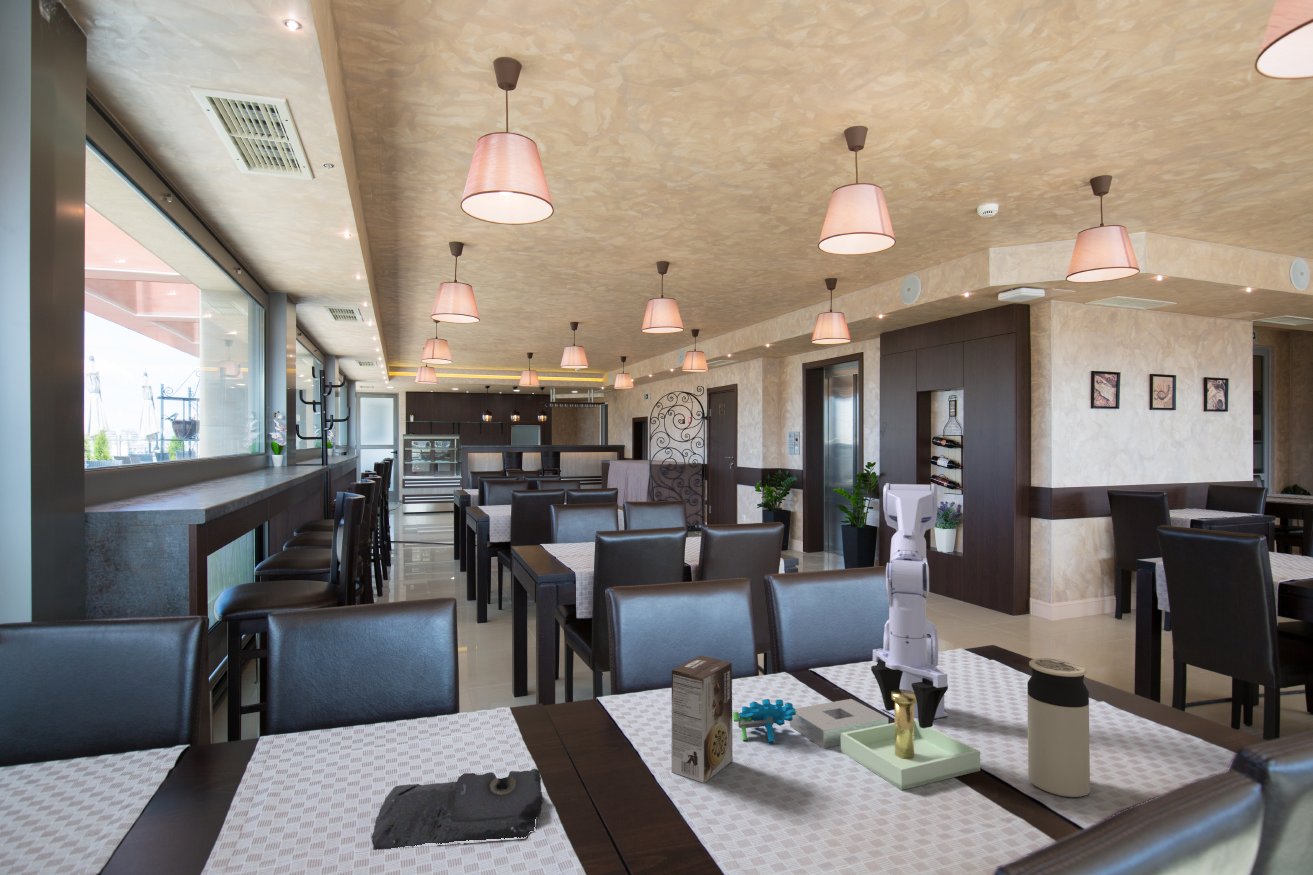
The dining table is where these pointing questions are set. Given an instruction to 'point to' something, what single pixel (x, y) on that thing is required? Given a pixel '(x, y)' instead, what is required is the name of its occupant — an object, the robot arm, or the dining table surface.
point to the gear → (764, 716)
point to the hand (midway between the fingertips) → (908, 717)
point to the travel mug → (1058, 728)
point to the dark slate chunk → (460, 810)
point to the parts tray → (930, 763)
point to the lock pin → (904, 722)
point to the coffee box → (701, 717)
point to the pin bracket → (834, 721)
